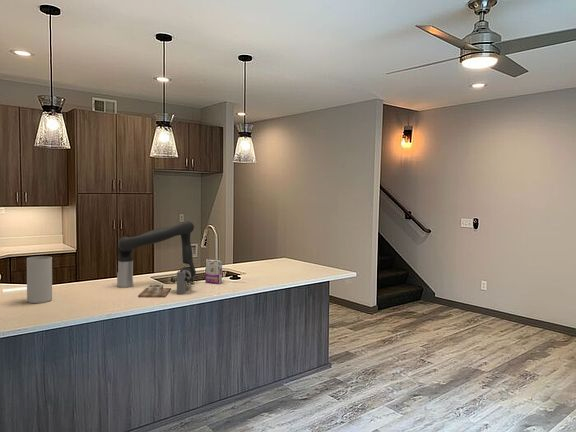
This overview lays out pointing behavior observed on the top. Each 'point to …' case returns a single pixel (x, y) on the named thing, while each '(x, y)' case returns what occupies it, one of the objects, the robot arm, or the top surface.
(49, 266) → the cylinder vase
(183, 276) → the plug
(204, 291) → the top surface
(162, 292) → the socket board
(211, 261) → the candy bar box
